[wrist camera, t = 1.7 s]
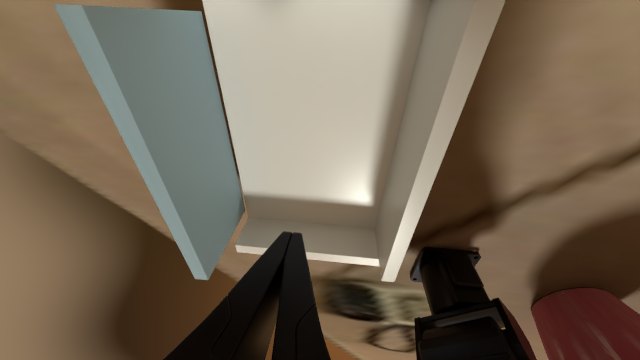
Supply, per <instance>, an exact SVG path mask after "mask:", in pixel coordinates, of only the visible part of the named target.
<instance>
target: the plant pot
mask: <svg viewBox="0 0 640 360" xmlns="http://www.w3.org/2000/svg"><path fill="white" fill-rule="evenodd" d="M531 311H532V315H533V318H534V321H535V323H536V326H537V329H538V332H539V335H540V338H541V340H542V343H543V346H544V349H545V351H546V354H547V356H548V359H549V360H640V314H638V313H637V312H635V311H634V310H633V309H631V308H630V307H629V306H627V305H626V304H624V303H623V302H622V301H620V300H619V299H618V298H616V297H615V296H614V295H612V294H611V293H609V292H607V291H605V290H601V289H596V288H575V289H567V290H562V291H559V292H555V293H553V294H550V295H548V296H546V297H543V298H542V299H540V300H539V301H537V302H536V303H535V304H534V305H533V307H532V310H531Z"/></svg>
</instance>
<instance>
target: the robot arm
mask: <svg viewBox="0 0 640 360" xmlns="http://www.w3.org/2000/svg"><path fill="white" fill-rule="evenodd" d="M480 258H481V256H480V254H479V253H478V252H470V251H459V250H448V249H438V248H424V249H423V250H422V252H421V254H420V256H419V258H418V260H417V263H416V265H415V267H414V269H413V271H412V274H411V276H410V278H411V281H415V282H422V283H423V286H424V290H425V293H426V297H427V300H428V304H429V307H430V311H431V314H432V315H431V316H426V317H422V318H420V317H418V318H415V340H416V355H417V360H537V359H536V357H535V355H534V353H533V350H532V348H531V346H530V343H529V341H528V340H527V338H526V336H525V335H524V333H523V331H522V330H521V328H520V326H519V324H518V323H517V321H516V319H515V318H514V316H513V315H512V314H511V313H510V311H509V310H508V309H507V308H506V306H505V305H504V304H503V303H502V301H501V300H500V299H499V298H495V299H493V300H491V301H490V300H489V298H488V296H487V294H486V292H485V290H484V288H483V287H484V285H483V283H482V281H481V279H480V277H479V275H478V273H477V271H476V269H475V265H476V264H477V262H478V261H479V260H480ZM276 320H277V321H276ZM275 324H276V329H275V337H274V345H273V353H272V360H331V359H330V356H329V353H328V350H327V347H326V343H325V340H324V337H323V333H322V330H321V326H320V321H319V317H318V312H317V307H316V302H315V297H314V292H313V287H312V282H311V277H310V272H309V267H308V262H307V257H306V252H305V246H304V241H303V236H302V233H299V232H293V233H292V232H288V231H283V232H282V233H281V234H280V235H279V236H278V237H277V239H276V240H275V241H274V242H273V243H272V244H271V245H270V247H269V248H268V249H267V250H266V251H265V252H264V253H263V255H262V256H261V257H260V258H259V259H258V260H257V261H256V263H255V264H254V265H253V266H252V267H251V268H250V269H249V271H248V272H247V273H246V274H245V275H244V276H243V277H242V279H241V280H240V281H239V282H238V283H237V284H236V285H235V287H234V288H233V289H232V290H231V291H230V292H229V293H228V296H226V297H225V298H224V299H223V300H222V301H221V302H220V304H219V305H218V306H217V307H216V308H215V309H214V310H213V311H212V312H211V313H210V315H209V316H208V317H207V318H206V319H205V320H204V321H203V322H202V323H201V324H199V325H198V327H196V329H194V330H193V331H192V332H191V333H190V334H189V335H188V336H187V337H186V338H185V339H184V340H183V341H182V342H181V343H180V344H179V345H178V346H177V347H176V348H174V349H173V351H171V352H170V353H169V354H168V355H167V356H166V357H165V358H164V359H163V360H265V358H266V355H267V351H268V348H269V344H270V341H271V337H272V334H273V331H274V327H275ZM503 327H505V328H506V329H504V330H502V329H501V328H503Z"/></svg>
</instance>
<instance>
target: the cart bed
mask: <svg viewBox="0 0 640 360" xmlns="http://www.w3.org/2000/svg"><path fill="white" fill-rule="evenodd" d="M202 1H203V6H204V11H205V16H206V20H207V25H208V30H209V34H210V39H211V44H212V48H213V53H214V58H215V62H216V67H217V72H218V76H219V81H220V86H221V90H222V95H223V100H224V105H225V109H226V114H227V119H228V123H229V128H230V133H231V137H232V142H233V147H234V151H235V156H236V161H237V165H238V170H239V175H240V179H241V184H242V189H243V194H244V198H245V203H246V208H247V212H248V217H249V218H248V220H247V222H246V224H245V226H244V228H243V230H242V232H241V234H240V236H239V238H238V240H237V242H236V244H235V247H236V250H237V252H242V253H252V254H262V255H263V253H264V252H265V251H266V250H267V249H268V248H269V247H270V245H271V244H272V243H273V242H274V241H275V240H276V239H277V237H278V236H279V235H280V234H281V233H282V232H283V231H288V232H292V233H293V232H299V233H302V236H303V241H304V246H305V252H306V257H307V259H312V260H322V261H332V262H342V263H352V264H362V265H372V266H380V274H381V281H389V282H394V281H395V279H396V276H397V274H398V271H399V269H400V266H401V264H402V261H403V258H404V256H405V253H406V251H407V248H408V246H409V243H410V241H411V238H412V236H413V233H414V231H415V228H416V226H417V223H418V221H419V218H420V216H421V213H422V210H423V208H424V205H425V203H426V200H427V198H428V195H429V193H430V190H431V188H432V185H433V183H434V180H435V178H436V175H437V173H438V170H439V168H440V165H441V162H442V160H443V157H444V155H445V152H446V150H447V147H448V145H449V142H450V140H451V137H452V135H453V132H454V130H455V127H456V125H457V122H458V120H459V117H460V114H461V112H462V109H463V107H464V104H465V102H466V99H467V97H468V94H469V92H470V89H471V87H472V84H473V82H474V79H475V77H476V74H477V72H478V69H479V66H480V64H481V61H482V59H483V56H484V54H485V51H486V49H487V46H488V44H489V41H490V39H491V36H492V34H493V31H494V29H495V26H496V24H497V21H498V18H499V16H500V13H501V11H502V8H503V6H504V3H505V1H506V0H202Z"/></svg>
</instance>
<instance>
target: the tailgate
mask: <svg viewBox="0 0 640 360" xmlns="http://www.w3.org/2000/svg"><path fill="white" fill-rule="evenodd" d="M53 5H54V6H55V8H56V10H57V12H58V14H59V16H60V18H61V20H62V22H63V24H64V26H65V28H66V30H67V32H68V34H69V36H70V37H71V39H72V41H73V43H74V45H75V47H76V49H77V51H78V53H79V55H80V57H81V59H82V61H83V63H84V65H85V67H86V68H87V70H88V72H89V74H90V76H91V78H92V80H93V82H94V84H95V86H96V88H97V90H98V92H99V94H100V96H101V97H102V99H103V101H104V103H105V105H106V107H107V109H108V111H109V113H110V115H111V117H112V119H113V121H114V123H115V125H116V127H117V128H118V130H119V132H120V134H121V136H122V138H123V140H124V142H125V144H126V146H127V148H128V150H129V152H130V154H131V156H132V157H133V159H134V161H135V163H136V165H137V167H138V169H139V171H140V173H141V175H142V177H143V179H144V181H145V183H146V185H147V187H148V188H149V190H150V192H151V194H152V196H153V198H154V200H155V202H156V204H157V206H158V208H159V210H160V212H161V214H162V216H163V218H164V219H165V221H166V223H167V225H168V227H169V229H170V231H171V233H172V235H173V237H174V239H175V241H176V243H177V245H178V246H179V248H180V250H181V252H182V254H183V256H184V258H185V260H186V262H187V264H188V266H189V268H190V270H191V272H192V274H193V276H194V278H195V279H204V280H209V277H210V275H211V274H212V272H213V270H214V268H215V266H216V264H217V262H218V261H219V259H220V257H221V255H222V253H223V251H224V249H225V247H226V245H227V244H228V242H229V240H230V238H231V236H232V234H233V232H234V230H235V228H236V226H237V225H238V223H239V221H240V219H241V217H242V215H243V213H244V211H245V207H244V203H243V198H242V194H241V189H240V185H239V180H238V175H237V171H236V166H235V162H234V157H233V153H232V148H231V144H230V139H229V135H228V130H227V125H226V121H225V116H224V112H223V107H222V103H221V98H220V94H219V89H218V85H217V80H216V76H215V71H214V66H213V62H212V57H211V53H210V48H209V44H208V39H207V35H206V30H205V26H204V21H203V16H202V12H201V11H185V10H165V9H145V8H125V7H104V6H84V5H57V4H53Z"/></svg>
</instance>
